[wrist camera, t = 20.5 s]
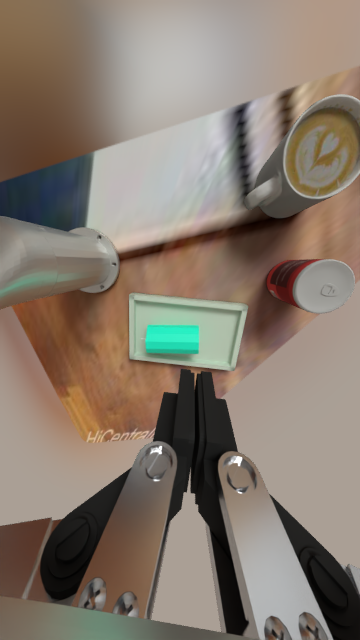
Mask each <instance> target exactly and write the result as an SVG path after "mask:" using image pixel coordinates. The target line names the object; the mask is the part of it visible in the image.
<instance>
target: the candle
mask: <svg viewBox="0 0 360 640" xmlns="http://www.w3.org/2000/svg"><path fill="white" fill-rule="evenodd" d="M141 339H144V338H141ZM145 345H146V352H147V353H172V354H199V325H148V326H147V333H146V340H145Z"/></svg>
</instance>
